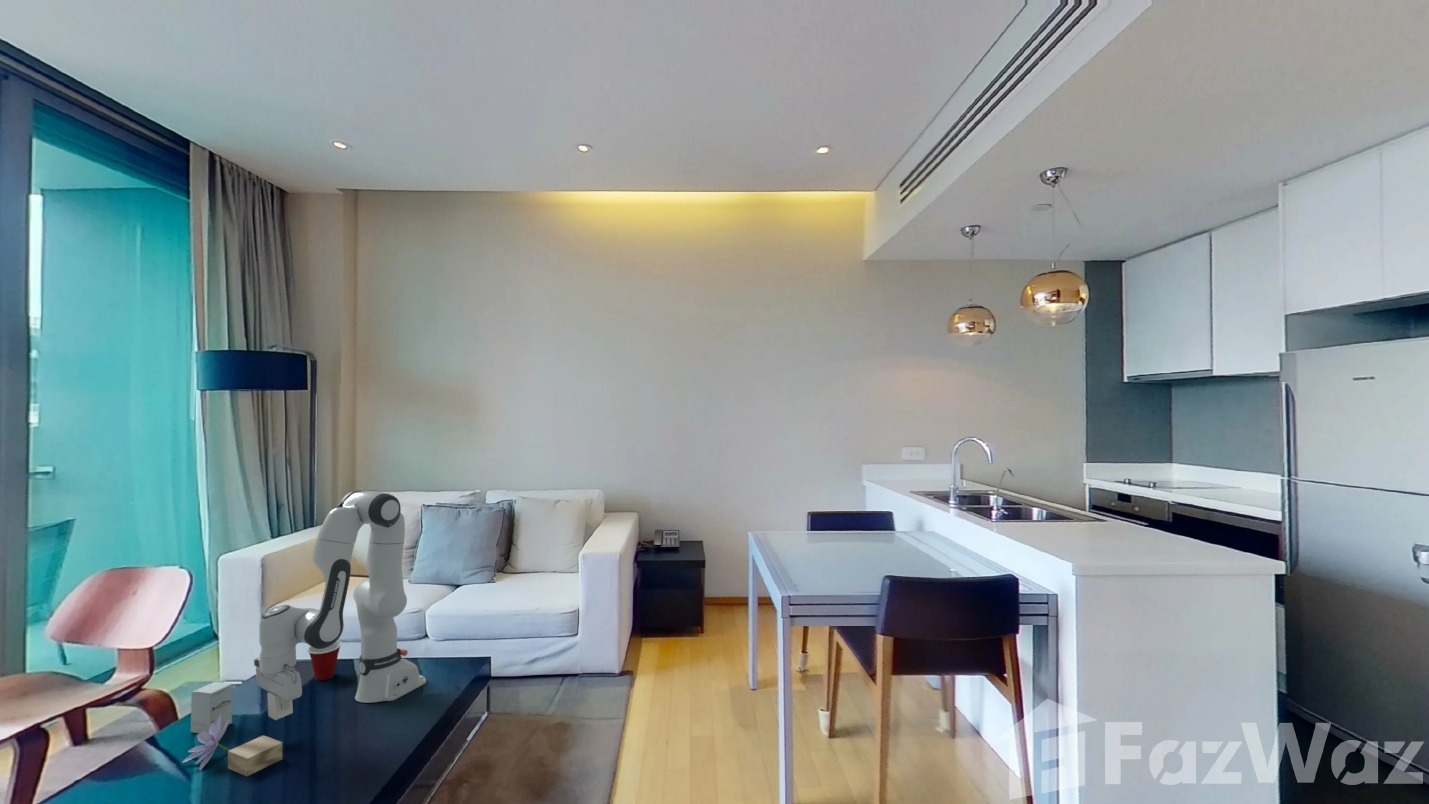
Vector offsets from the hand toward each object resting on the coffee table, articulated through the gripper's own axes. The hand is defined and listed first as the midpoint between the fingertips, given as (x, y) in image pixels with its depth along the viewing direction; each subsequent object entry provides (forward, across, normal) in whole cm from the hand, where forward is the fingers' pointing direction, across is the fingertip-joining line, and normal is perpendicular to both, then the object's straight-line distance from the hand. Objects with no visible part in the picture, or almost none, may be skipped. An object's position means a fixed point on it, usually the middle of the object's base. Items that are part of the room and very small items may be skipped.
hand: (280, 706), depth 184 cm
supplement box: (+9, +25, +8) cm, 28 cm away
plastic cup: (+11, +33, -28) cm, 45 cm away
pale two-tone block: (+2, 0, 0) cm, 2 cm away
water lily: (+9, +6, +17) cm, 20 cm away
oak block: (+9, -9, +10) cm, 17 cm away
